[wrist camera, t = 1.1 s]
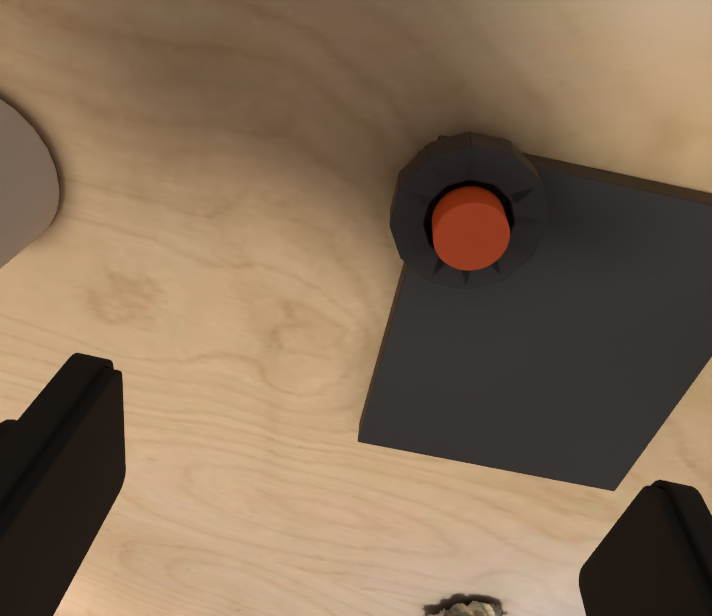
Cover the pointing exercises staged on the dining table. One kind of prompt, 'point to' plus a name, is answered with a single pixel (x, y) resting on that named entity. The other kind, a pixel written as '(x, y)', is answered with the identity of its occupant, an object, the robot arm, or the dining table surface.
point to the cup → (23, 184)
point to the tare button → (470, 228)
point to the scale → (542, 317)
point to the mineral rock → (471, 610)
